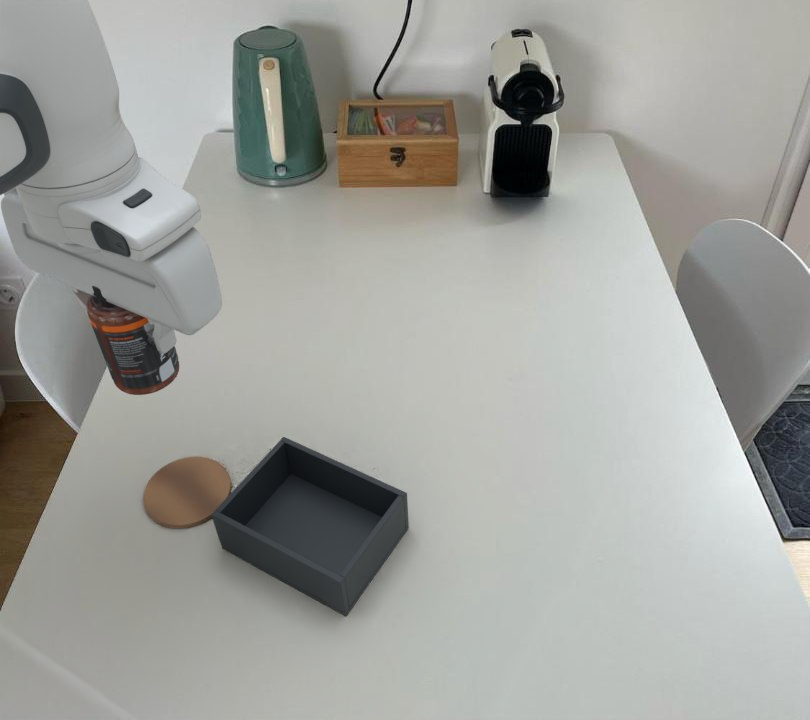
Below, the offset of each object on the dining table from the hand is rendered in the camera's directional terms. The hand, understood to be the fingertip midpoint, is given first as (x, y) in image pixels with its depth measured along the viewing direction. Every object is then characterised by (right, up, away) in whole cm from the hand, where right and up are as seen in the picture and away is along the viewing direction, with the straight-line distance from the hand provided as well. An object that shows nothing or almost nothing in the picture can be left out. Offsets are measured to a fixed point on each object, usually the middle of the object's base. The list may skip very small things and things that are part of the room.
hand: (133, 333), depth 70 cm
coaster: (+1, -16, +15) cm, 22 cm away
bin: (+15, -20, +10) cm, 27 cm away
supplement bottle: (0, -4, +4) cm, 5 cm away
